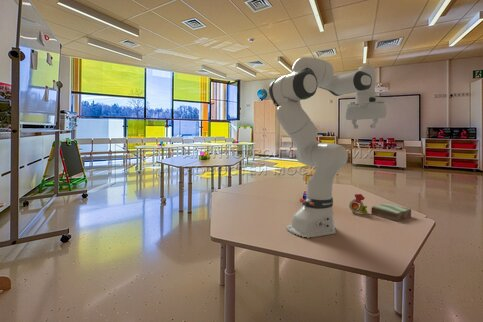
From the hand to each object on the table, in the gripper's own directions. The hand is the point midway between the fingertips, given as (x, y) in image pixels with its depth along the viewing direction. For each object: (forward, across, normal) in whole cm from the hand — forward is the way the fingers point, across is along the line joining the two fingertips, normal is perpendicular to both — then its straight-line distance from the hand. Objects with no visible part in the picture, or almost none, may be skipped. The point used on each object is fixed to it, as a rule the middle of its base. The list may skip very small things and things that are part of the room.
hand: (364, 128), depth 127 cm
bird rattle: (+46, -3, +2) cm, 46 cm away
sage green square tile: (+45, +8, +13) cm, 48 cm away
